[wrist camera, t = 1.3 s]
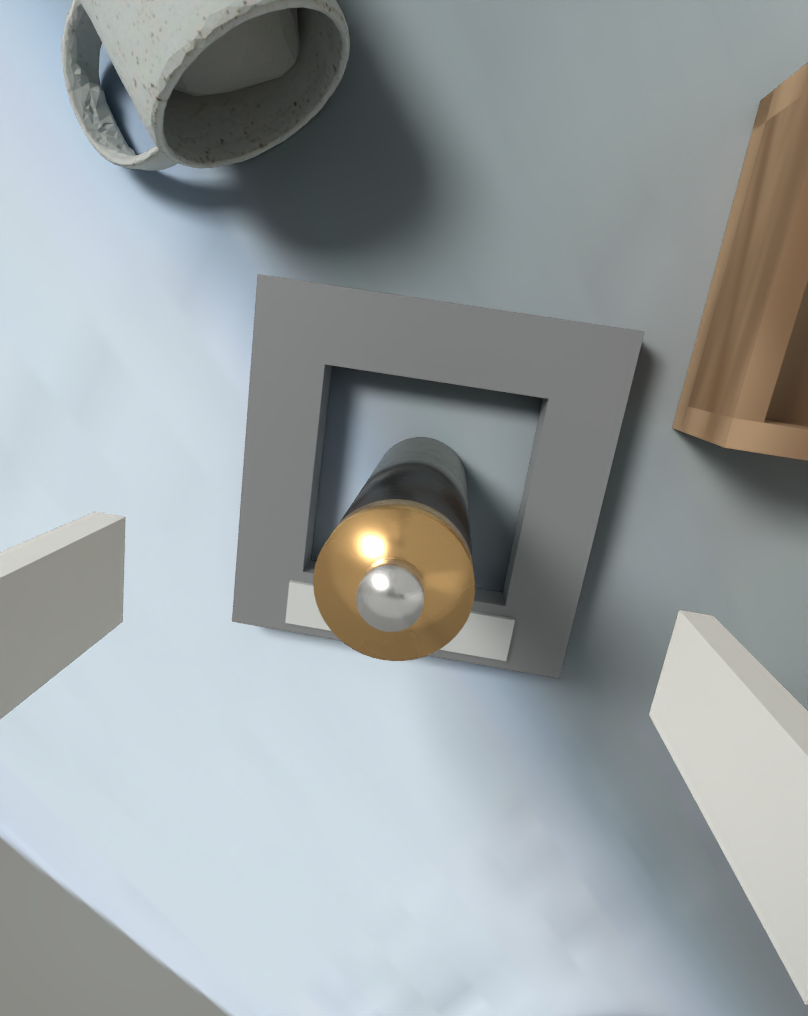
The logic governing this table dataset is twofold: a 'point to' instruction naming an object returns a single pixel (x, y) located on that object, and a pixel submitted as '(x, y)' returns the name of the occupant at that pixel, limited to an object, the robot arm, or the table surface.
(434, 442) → the battery cell
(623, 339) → the grey flat square frame
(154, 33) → the ceramic mug
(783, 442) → the walnut trough
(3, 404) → the table surface
